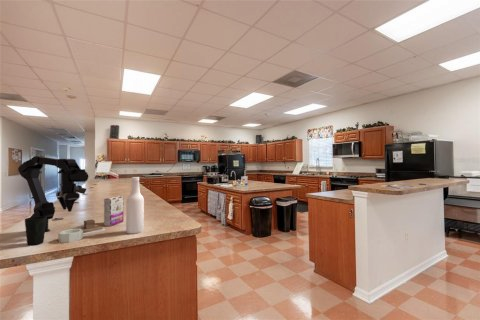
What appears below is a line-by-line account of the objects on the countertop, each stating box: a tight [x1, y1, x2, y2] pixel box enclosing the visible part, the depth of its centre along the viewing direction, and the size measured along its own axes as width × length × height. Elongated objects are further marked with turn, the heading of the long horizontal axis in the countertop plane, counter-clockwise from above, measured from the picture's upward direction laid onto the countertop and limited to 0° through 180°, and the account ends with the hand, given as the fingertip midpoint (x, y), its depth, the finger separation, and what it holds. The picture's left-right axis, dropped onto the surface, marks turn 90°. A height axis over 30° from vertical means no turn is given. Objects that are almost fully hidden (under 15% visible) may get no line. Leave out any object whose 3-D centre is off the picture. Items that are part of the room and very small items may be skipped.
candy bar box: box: [103, 195, 124, 227], centre depth 141 cm, size 11×5×16 cm, turn 168°
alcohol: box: [125, 176, 145, 235], centre depth 124 cm, size 9×9×30 cm
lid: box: [75, 219, 104, 233], centre depth 126 cm, size 10×10×5 cm
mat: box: [83, 227, 107, 236], centre depth 126 cm, size 14×12×1 cm
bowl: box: [57, 228, 84, 244], centre depth 111 cm, size 9×9×4 cm
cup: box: [24, 216, 47, 247], centre depth 105 cm, size 8×8×12 cm
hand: (67, 210), depth 122 cm, fingers open, 9 cm apart
